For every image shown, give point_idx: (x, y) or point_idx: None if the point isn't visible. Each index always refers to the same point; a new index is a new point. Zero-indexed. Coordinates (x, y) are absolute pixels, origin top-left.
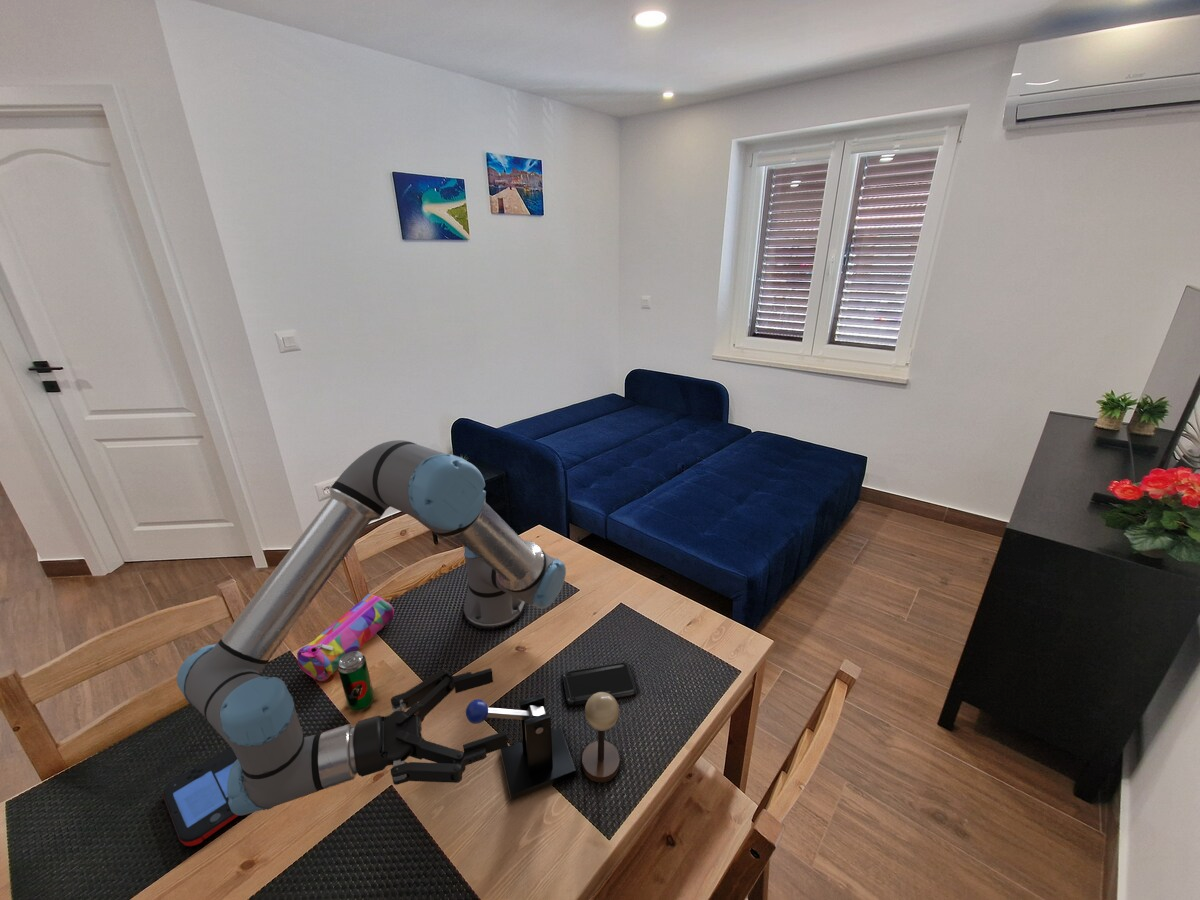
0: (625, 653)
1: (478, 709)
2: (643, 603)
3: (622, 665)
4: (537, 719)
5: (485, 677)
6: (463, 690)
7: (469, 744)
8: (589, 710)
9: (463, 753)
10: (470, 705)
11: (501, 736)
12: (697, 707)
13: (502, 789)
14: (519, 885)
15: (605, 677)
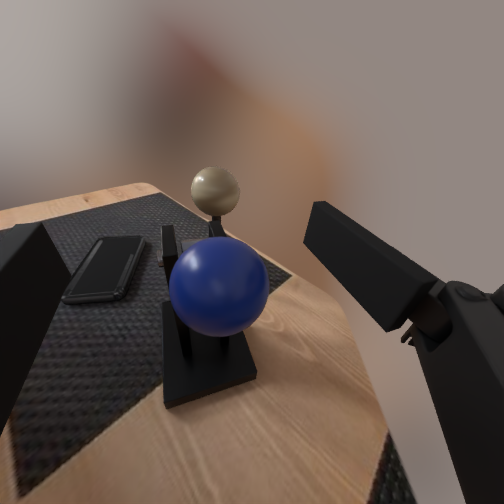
0: (80, 241)
1: (246, 244)
2: (15, 219)
3: (100, 241)
4: (220, 233)
5: (42, 263)
6: (12, 399)
7: (406, 262)
8: (223, 185)
9: (434, 292)
10: (220, 268)
11: (334, 207)
12: (181, 213)
13: (236, 397)
14: (356, 357)
15: (106, 255)
